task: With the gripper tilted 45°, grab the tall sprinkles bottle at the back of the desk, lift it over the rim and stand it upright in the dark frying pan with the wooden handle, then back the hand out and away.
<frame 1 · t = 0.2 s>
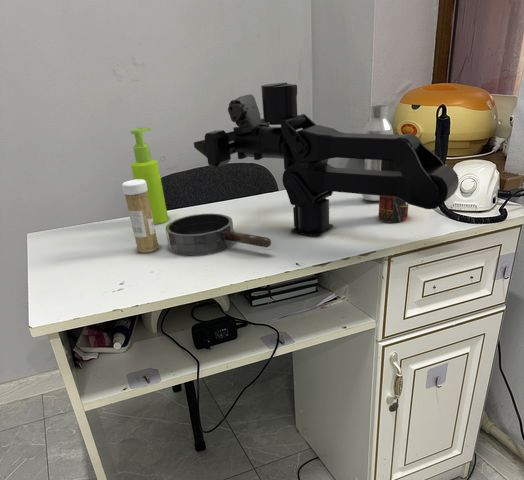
hand: (208, 140, 105), 17 cm above the table, tool horizontal, fingers open, 9 cm apart
sprinkles bottle: (148, 250, 99), on the table
pan: (202, 243, 100), on the table
deodorant: (392, 219, 103), on the table
soap dispenser: (157, 220, 115), on the table
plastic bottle: (375, 200, 115), on the table
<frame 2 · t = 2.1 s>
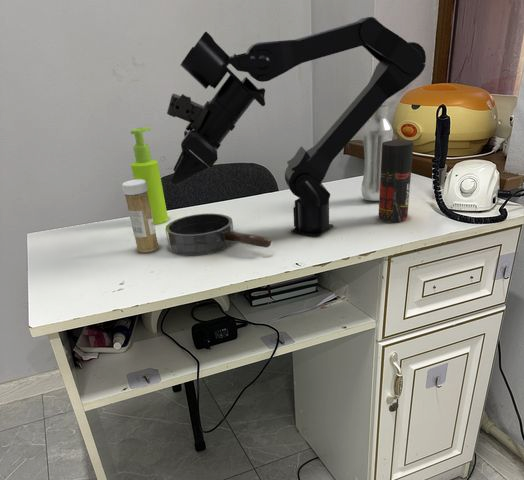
hand: (173, 177, 93), 13 cm above the table, tool tilted 45°, fingers open, 9 cm apart
nothing on the table moved.
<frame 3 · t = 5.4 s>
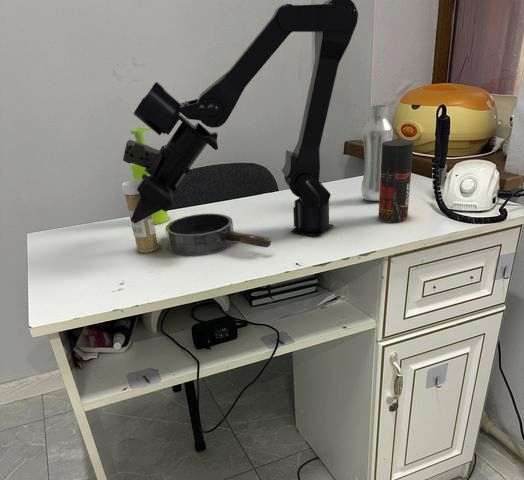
hand: (134, 218, 95), 7 cm above the table, tool tilted 45°, fingers closed on sprinkles bottle, 4 cm apart
sprinkles bottle: (148, 250, 99), on the table, touching gripper
everything else where it was.
when the fingers open (7 cm above the table, at t = 10.9 s): sprinkles bottle stays where it is, resting on pan.
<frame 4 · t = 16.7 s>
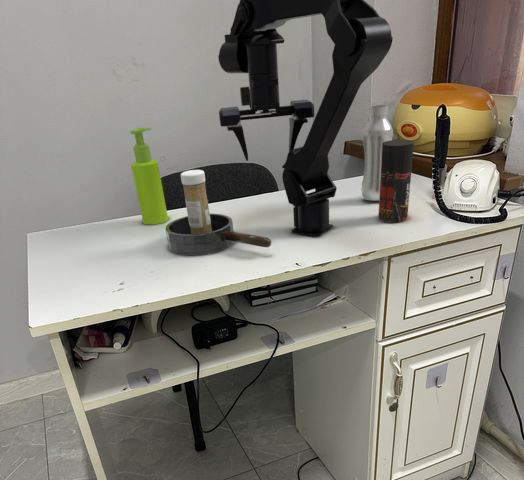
hand: (268, 158, 102), 13 cm above the table, tool pointing down, fingers open, 9 cm apart
sprinkles bottle: (202, 241, 99), resting on pan
everything else where it was.
at the end: sprinkles bottle inside the target area in the pan (0.1 cm from its centre), point 0.4 cm above the pan's base; sprinkles bottle tilted 0°; the gripper is holding nothing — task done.
